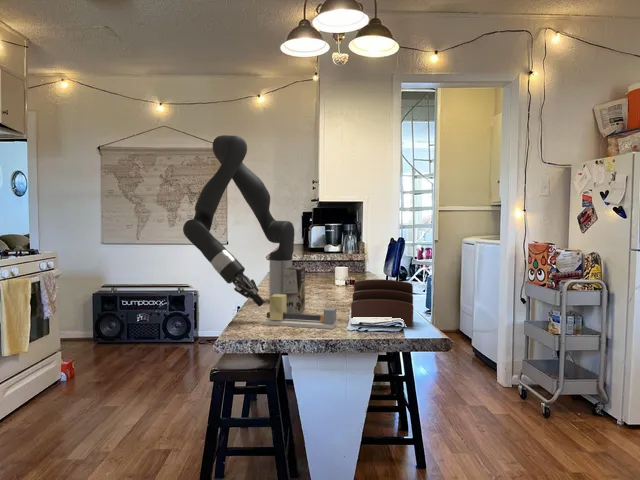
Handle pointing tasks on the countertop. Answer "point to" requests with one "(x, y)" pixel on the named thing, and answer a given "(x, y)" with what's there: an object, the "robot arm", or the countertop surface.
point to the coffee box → (294, 289)
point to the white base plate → (306, 319)
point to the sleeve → (278, 306)
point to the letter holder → (383, 299)
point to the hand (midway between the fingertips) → (262, 304)
